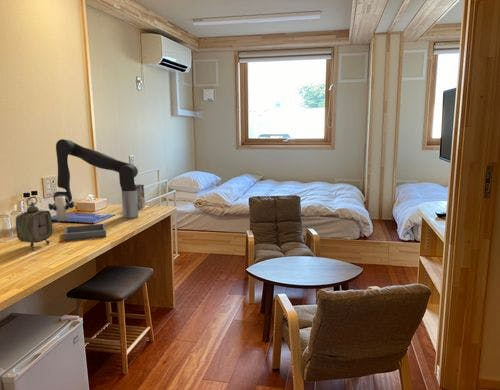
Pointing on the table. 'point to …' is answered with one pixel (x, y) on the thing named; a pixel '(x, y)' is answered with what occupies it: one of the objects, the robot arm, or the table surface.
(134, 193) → the robot arm
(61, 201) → the canister
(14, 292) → the table surface
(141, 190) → the coffee box
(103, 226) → the tray
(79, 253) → the table surface
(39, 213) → the tabletop clock
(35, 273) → the table surface
